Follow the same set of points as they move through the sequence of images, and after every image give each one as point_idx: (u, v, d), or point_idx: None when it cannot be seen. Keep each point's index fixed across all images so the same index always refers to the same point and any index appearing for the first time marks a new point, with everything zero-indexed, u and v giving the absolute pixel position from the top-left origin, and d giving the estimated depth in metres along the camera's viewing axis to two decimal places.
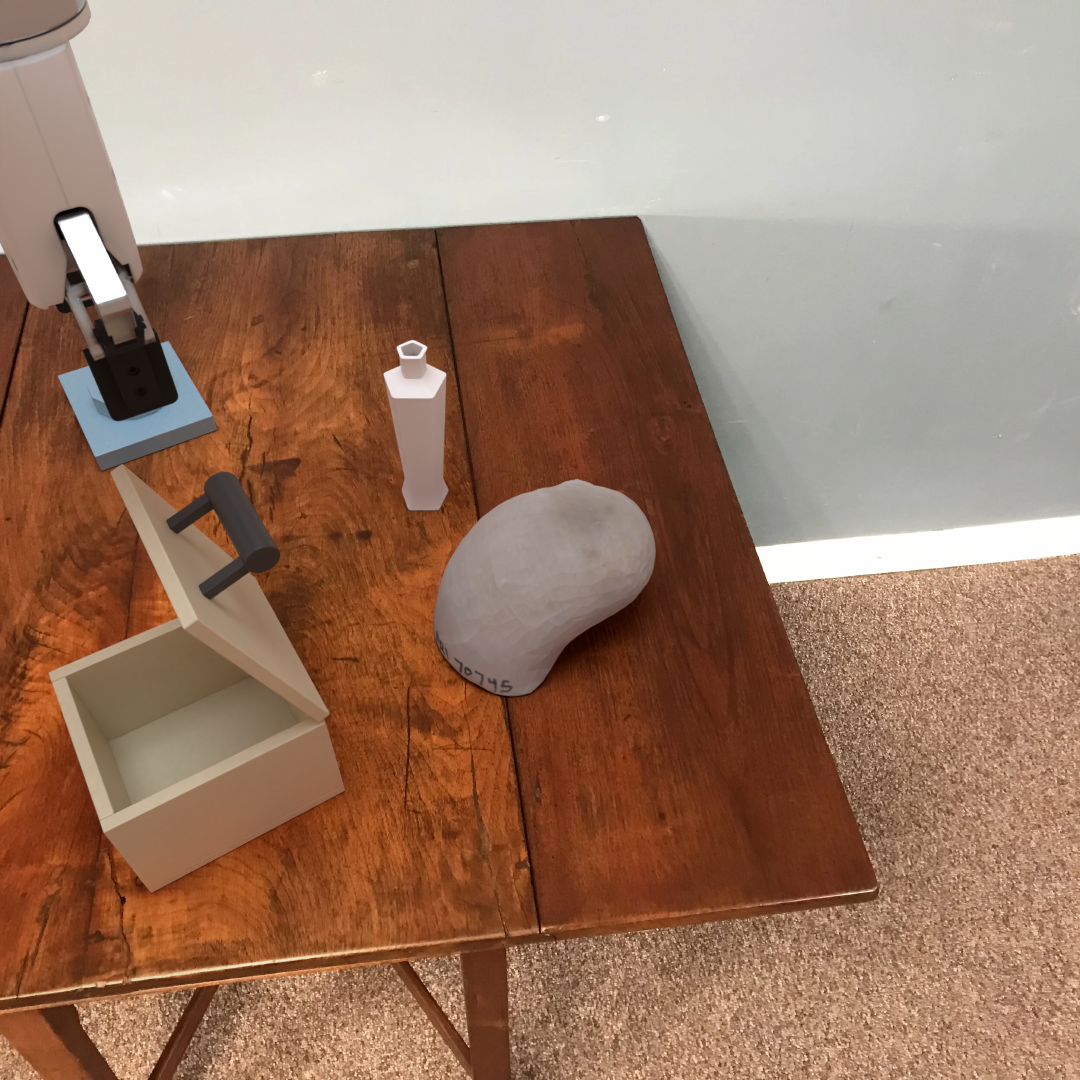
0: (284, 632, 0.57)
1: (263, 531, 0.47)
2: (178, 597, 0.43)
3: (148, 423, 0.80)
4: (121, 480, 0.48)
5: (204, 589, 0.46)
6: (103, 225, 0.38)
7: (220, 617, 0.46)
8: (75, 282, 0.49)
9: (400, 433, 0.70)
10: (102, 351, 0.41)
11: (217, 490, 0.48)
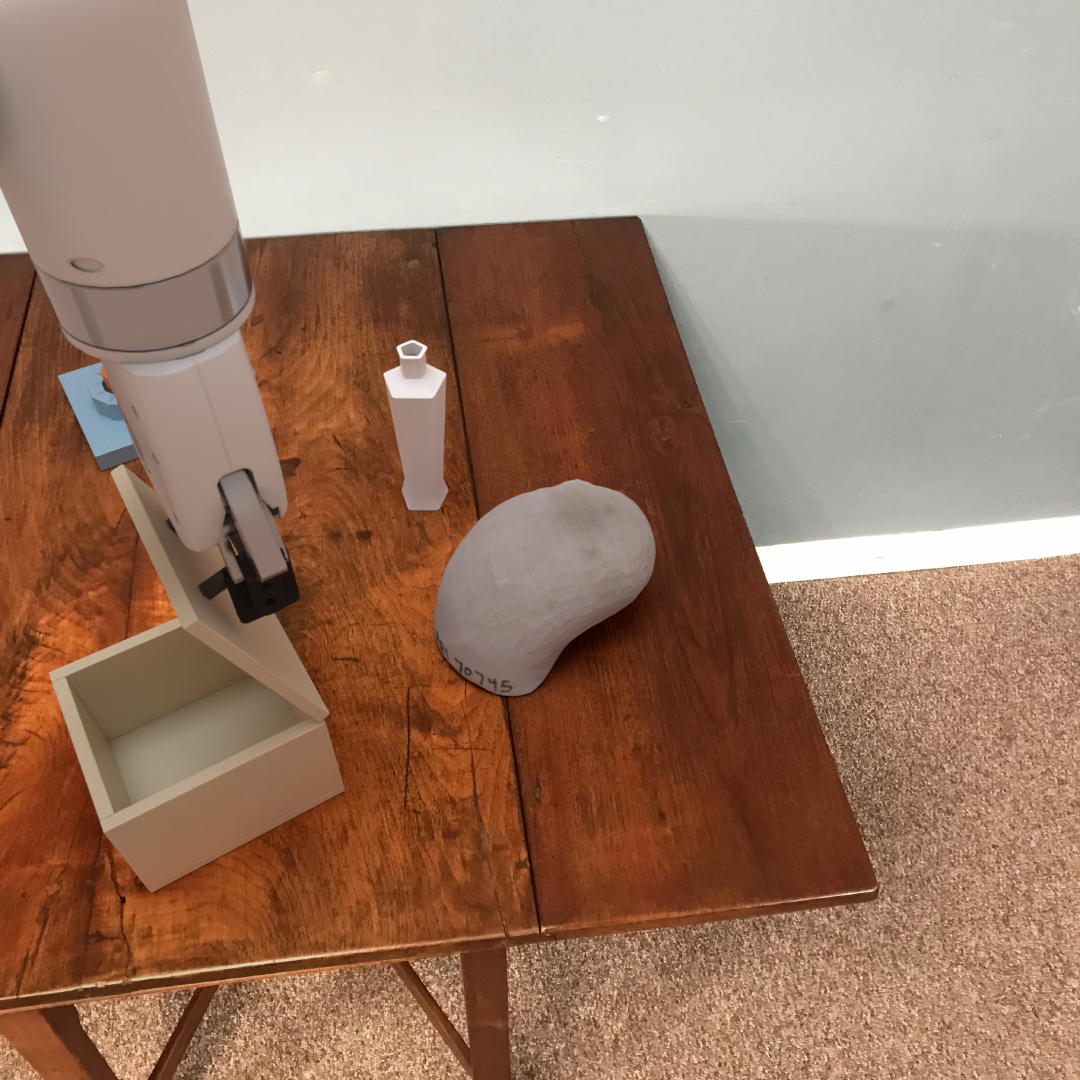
0: (284, 632, 0.57)
1: None
2: (178, 597, 0.43)
3: None
4: (121, 480, 0.48)
5: (204, 589, 0.46)
6: (260, 480, 0.40)
7: (220, 617, 0.46)
8: None
9: (400, 433, 0.70)
10: (242, 576, 0.44)
11: None
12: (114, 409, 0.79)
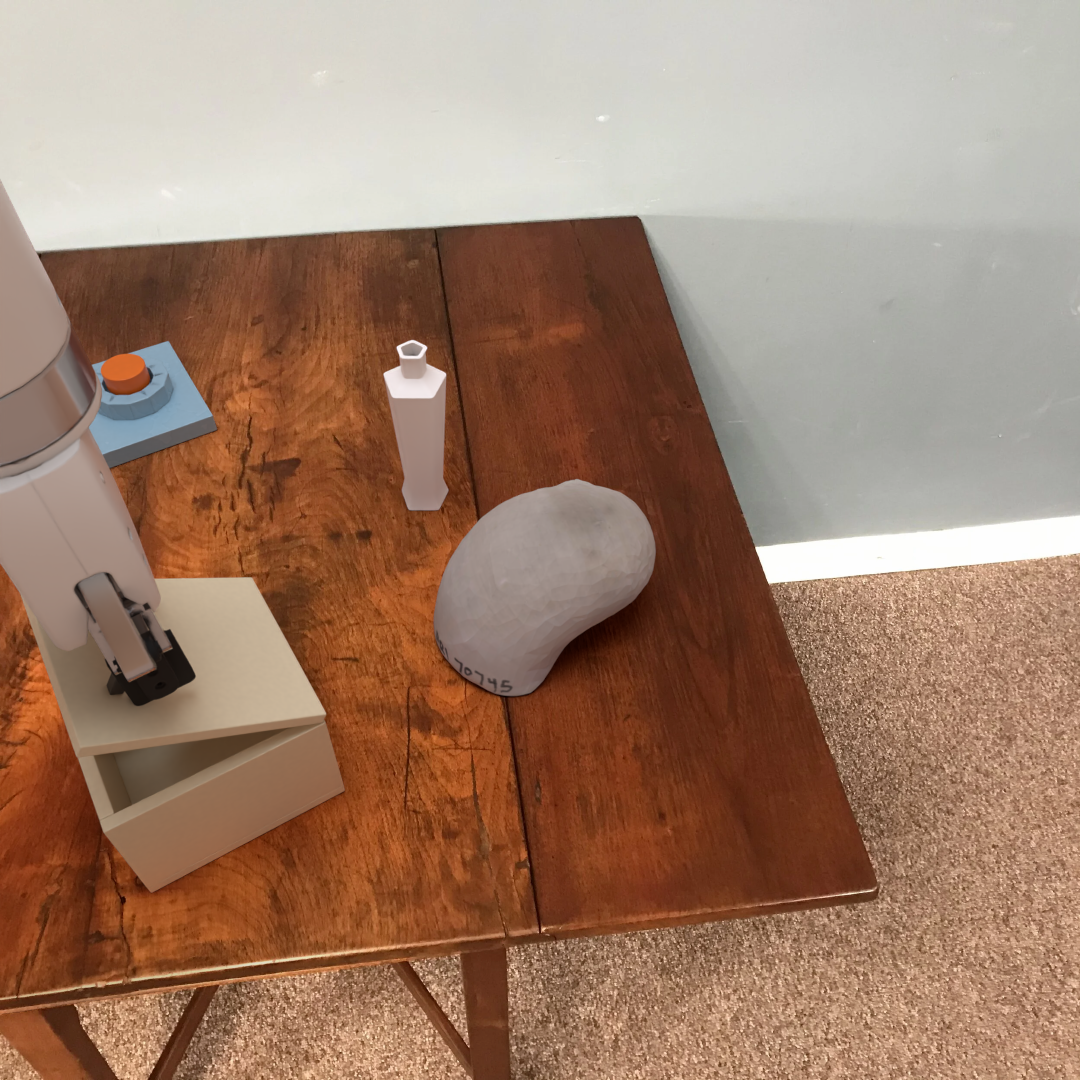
0: (279, 633, 0.57)
1: None
2: (68, 724, 0.45)
3: (148, 423, 0.80)
4: None
5: (109, 690, 0.47)
6: (121, 581, 0.39)
7: (135, 708, 0.47)
8: None
9: (400, 433, 0.70)
10: None
11: None
12: (114, 409, 0.79)
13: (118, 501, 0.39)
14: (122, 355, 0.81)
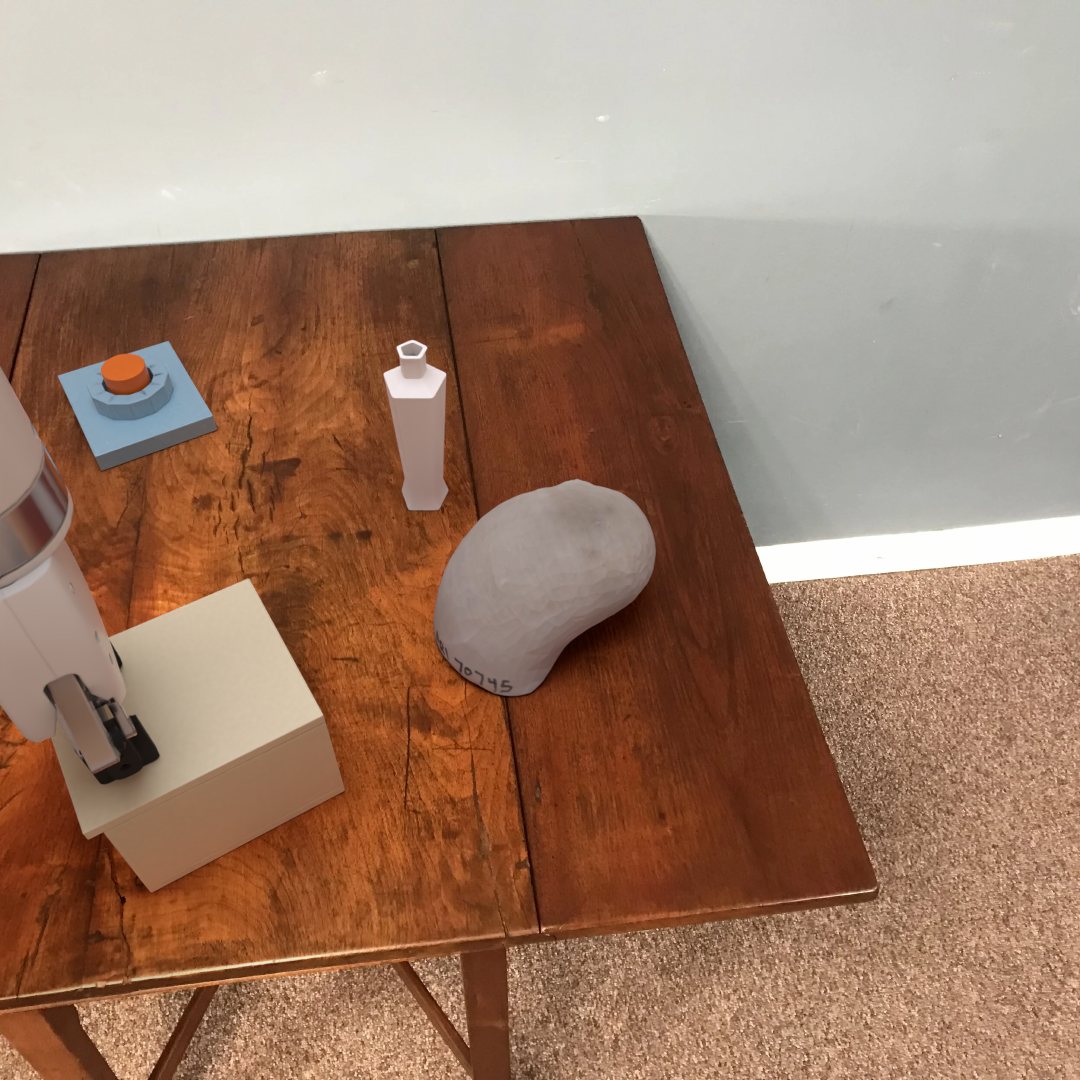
0: (276, 635, 0.57)
1: None
2: (75, 809, 0.50)
3: (148, 423, 0.80)
4: None
5: None
6: (88, 680, 0.42)
7: (131, 775, 0.51)
8: None
9: (400, 433, 0.70)
10: None
11: None
12: (114, 409, 0.79)
13: (87, 607, 0.42)
14: (122, 355, 0.81)
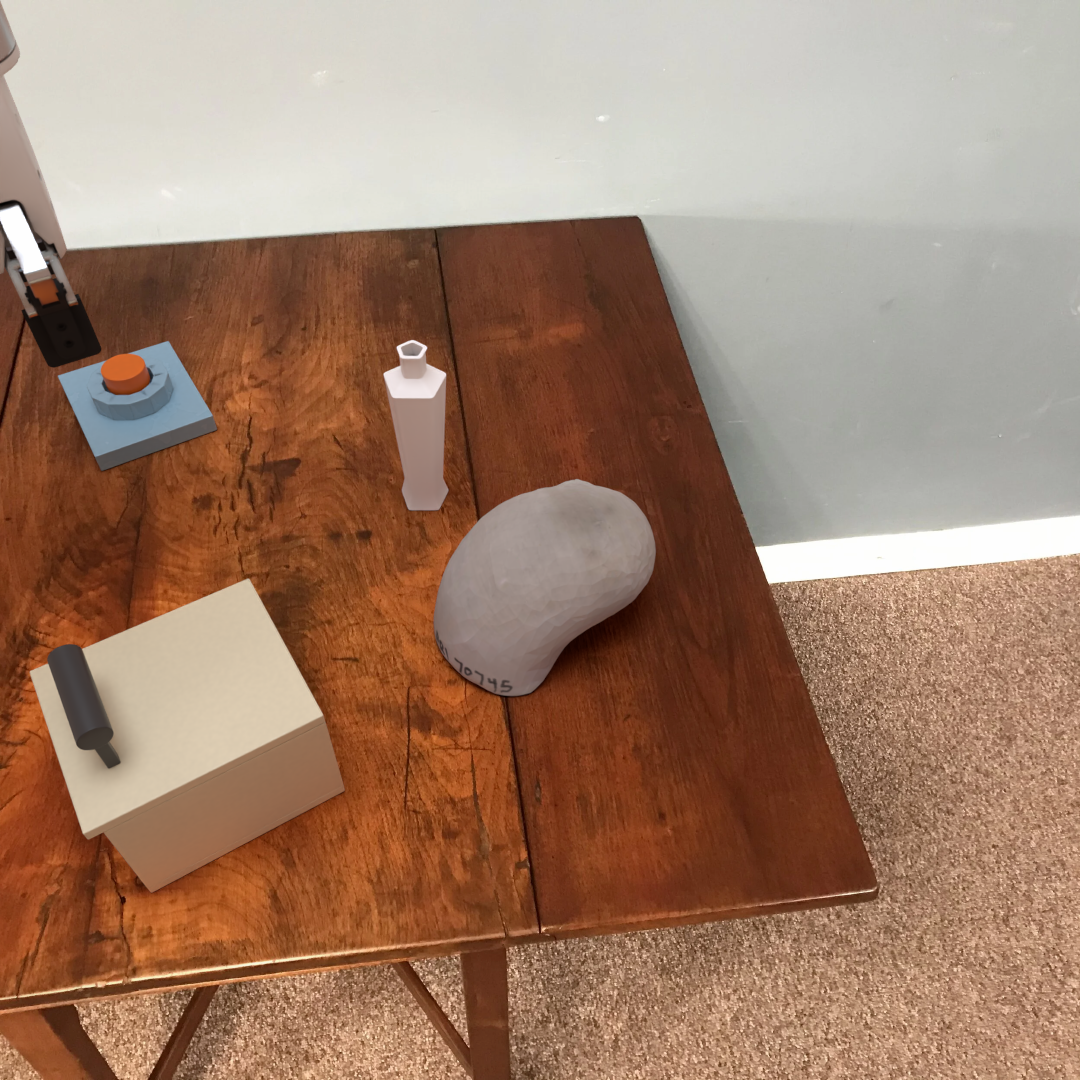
0: (276, 635, 0.57)
1: (75, 718, 0.48)
2: (75, 809, 0.50)
3: (148, 423, 0.80)
4: None
5: (106, 764, 0.51)
6: (31, 214, 0.50)
7: (131, 775, 0.51)
8: None
9: (400, 433, 0.70)
10: (35, 311, 0.53)
11: None
12: (114, 409, 0.79)
13: (31, 149, 0.50)
14: (122, 355, 0.81)
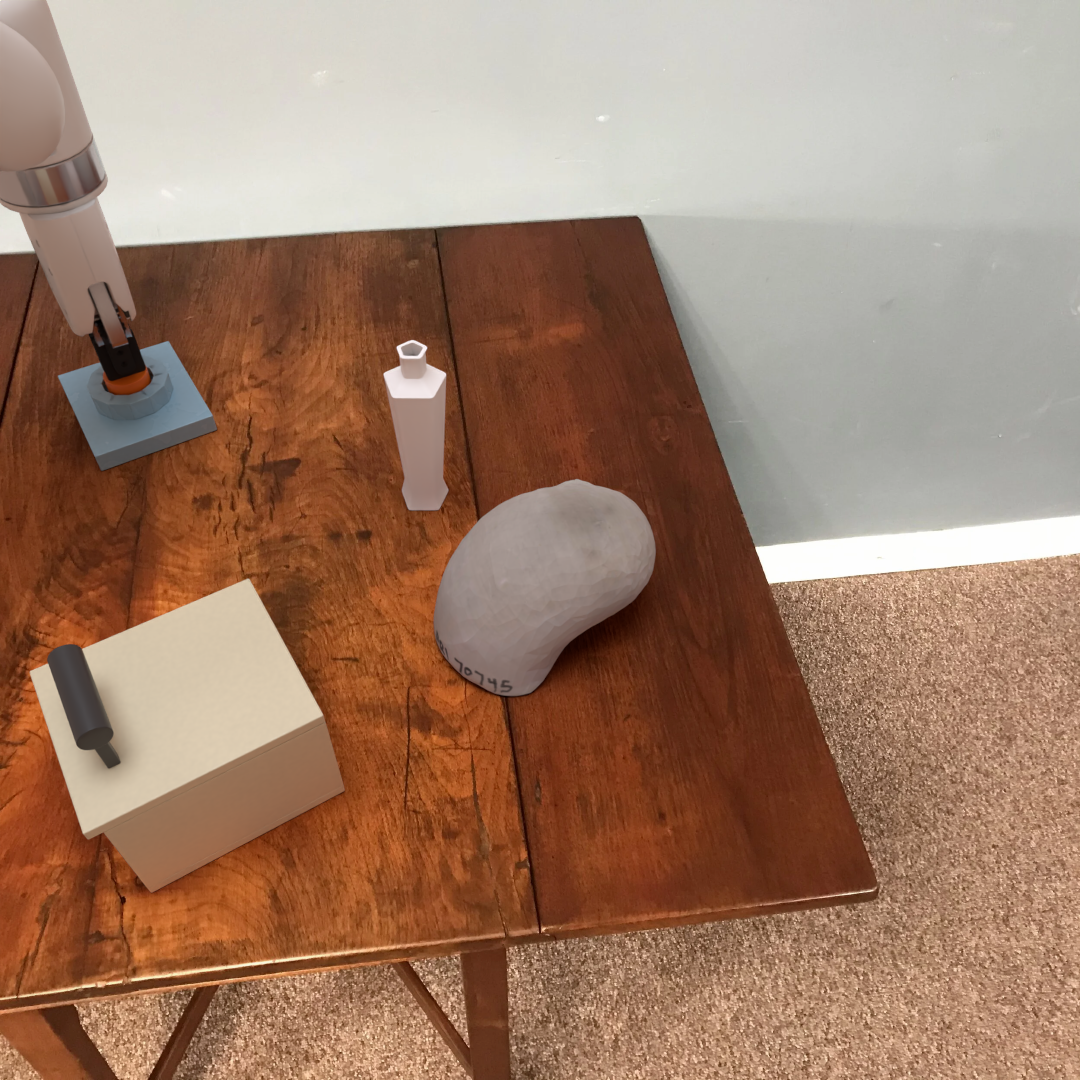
0: (276, 635, 0.57)
1: (75, 718, 0.48)
2: (75, 809, 0.50)
3: (148, 423, 0.80)
4: None
5: (106, 764, 0.51)
6: (114, 291, 0.70)
7: (131, 775, 0.51)
8: None
9: (400, 433, 0.70)
10: (102, 341, 0.75)
11: None
12: (114, 409, 0.79)
13: None
14: None
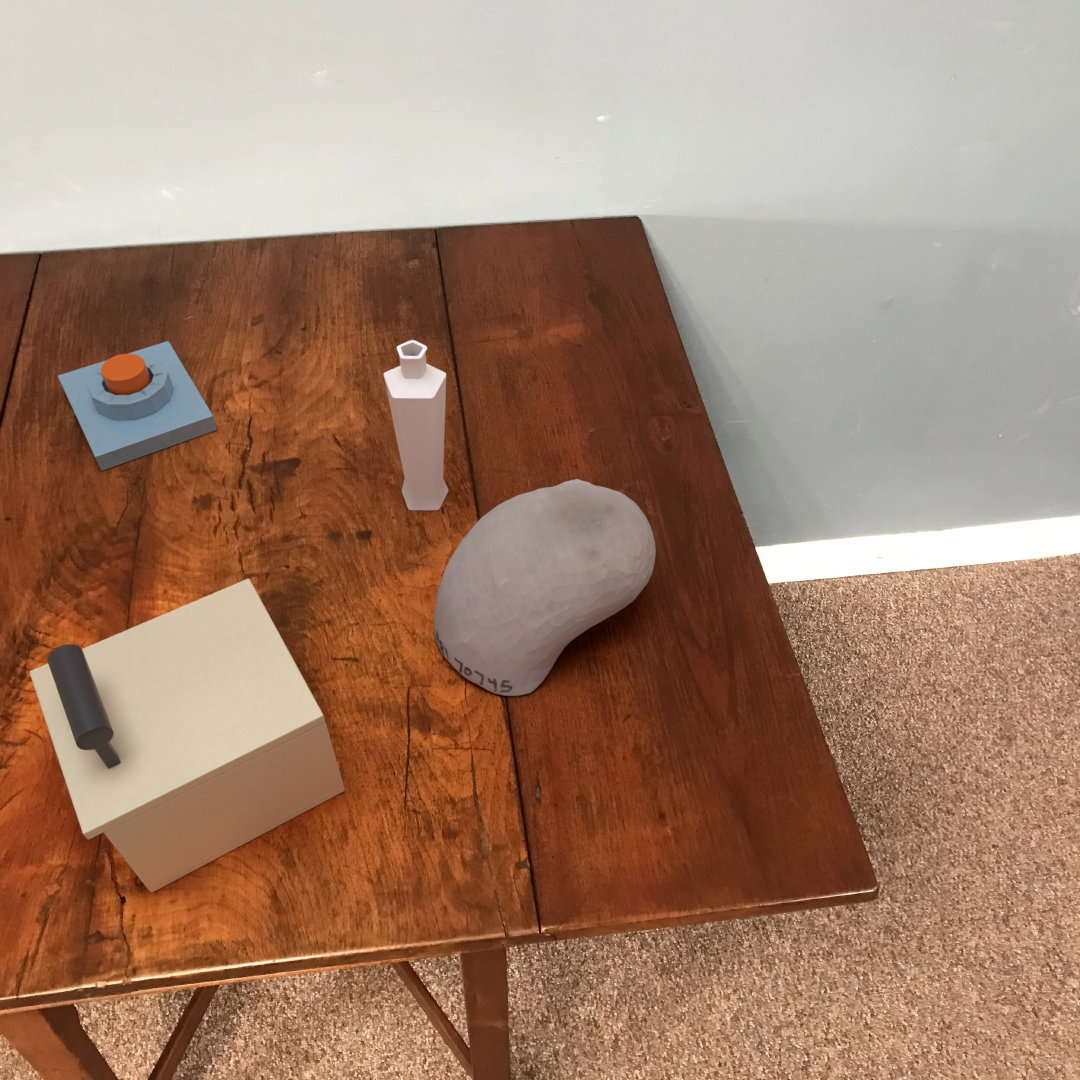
0: (276, 635, 0.57)
1: (75, 718, 0.48)
2: (75, 809, 0.50)
3: (148, 423, 0.80)
4: None
5: (106, 764, 0.51)
6: None
7: (131, 775, 0.51)
8: None
9: (400, 433, 0.70)
10: None
11: None
12: (114, 409, 0.79)
13: None
14: (122, 355, 0.81)
